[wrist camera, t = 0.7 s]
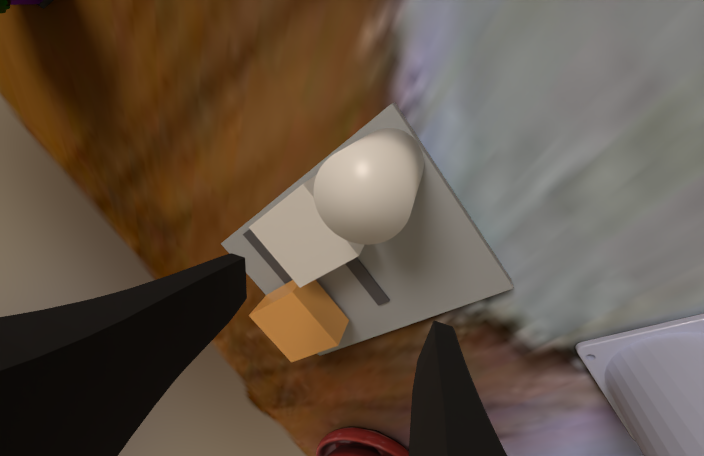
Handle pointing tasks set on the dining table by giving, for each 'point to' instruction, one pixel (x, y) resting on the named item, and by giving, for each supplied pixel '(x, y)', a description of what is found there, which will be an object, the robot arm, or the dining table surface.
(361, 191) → the cap
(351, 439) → the plant pot
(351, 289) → the panel
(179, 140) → the dining table surface
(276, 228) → the block
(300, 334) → the block
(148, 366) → the robot arm
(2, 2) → the potion bottle
